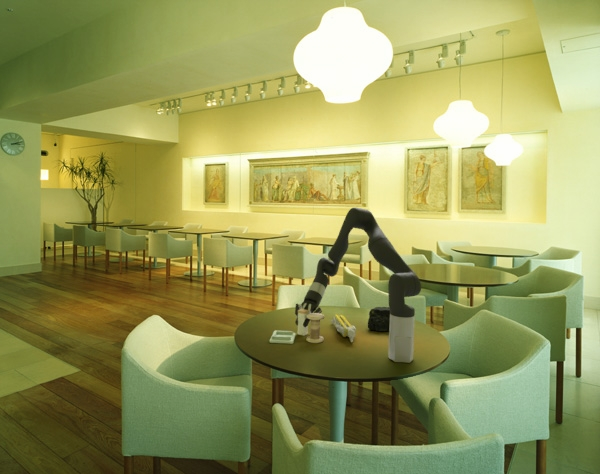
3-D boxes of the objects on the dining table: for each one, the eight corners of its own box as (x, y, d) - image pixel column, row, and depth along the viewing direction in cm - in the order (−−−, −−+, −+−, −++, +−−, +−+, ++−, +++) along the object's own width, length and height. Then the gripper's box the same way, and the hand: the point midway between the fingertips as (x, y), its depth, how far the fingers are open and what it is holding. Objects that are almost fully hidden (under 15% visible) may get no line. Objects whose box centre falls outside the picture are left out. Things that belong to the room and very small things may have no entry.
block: (308, 333, 190) (308, 310, 190) (303, 335, 187) (304, 311, 187) (301, 332, 192) (302, 308, 192) (297, 334, 189) (297, 310, 189)
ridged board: (292, 343, 176) (293, 338, 176) (269, 342, 177) (269, 337, 177) (295, 335, 188) (295, 330, 188) (273, 334, 189) (273, 329, 189)
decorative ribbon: (346, 314, 208) (362, 331, 178) (344, 326, 208) (359, 345, 178) (330, 312, 207) (344, 329, 177) (328, 323, 207) (341, 342, 177)
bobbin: (323, 343, 177) (324, 318, 176) (305, 342, 178) (306, 317, 177) (324, 337, 185) (324, 313, 184) (306, 337, 185) (307, 312, 185)
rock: (370, 323, 211) (367, 331, 196) (370, 304, 210) (367, 310, 196) (406, 326, 206) (405, 334, 191) (407, 307, 205) (406, 313, 191)
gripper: (299, 287, 199) (284, 318, 189) (325, 291, 191) (310, 323, 182) (305, 296, 203) (290, 327, 194) (330, 300, 196) (316, 332, 186)
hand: (300, 325), depth 188 cm, fingers closed on block, 3 cm apart
